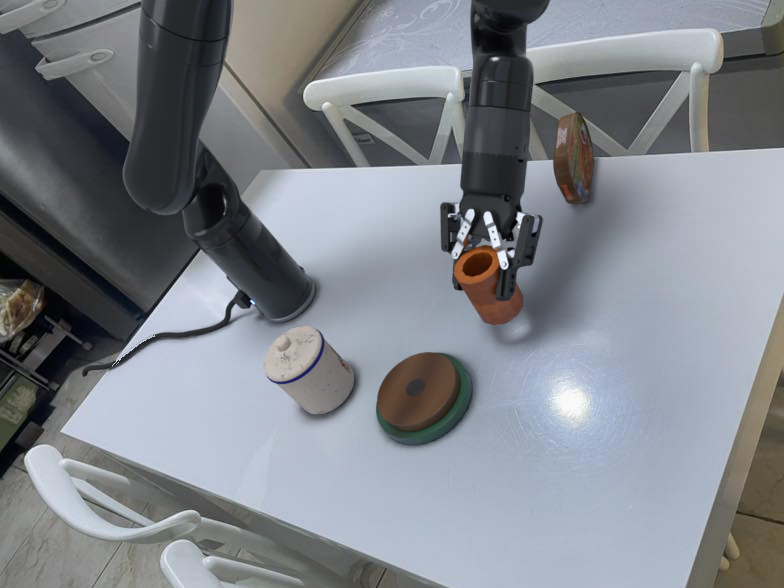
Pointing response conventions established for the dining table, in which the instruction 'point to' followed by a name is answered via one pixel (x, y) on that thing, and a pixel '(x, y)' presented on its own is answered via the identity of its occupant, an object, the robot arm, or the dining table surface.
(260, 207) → the dining table surface
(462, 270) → the orange hollow cylinder
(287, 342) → the teacup with lid
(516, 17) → the robot arm
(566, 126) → the tin
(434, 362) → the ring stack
